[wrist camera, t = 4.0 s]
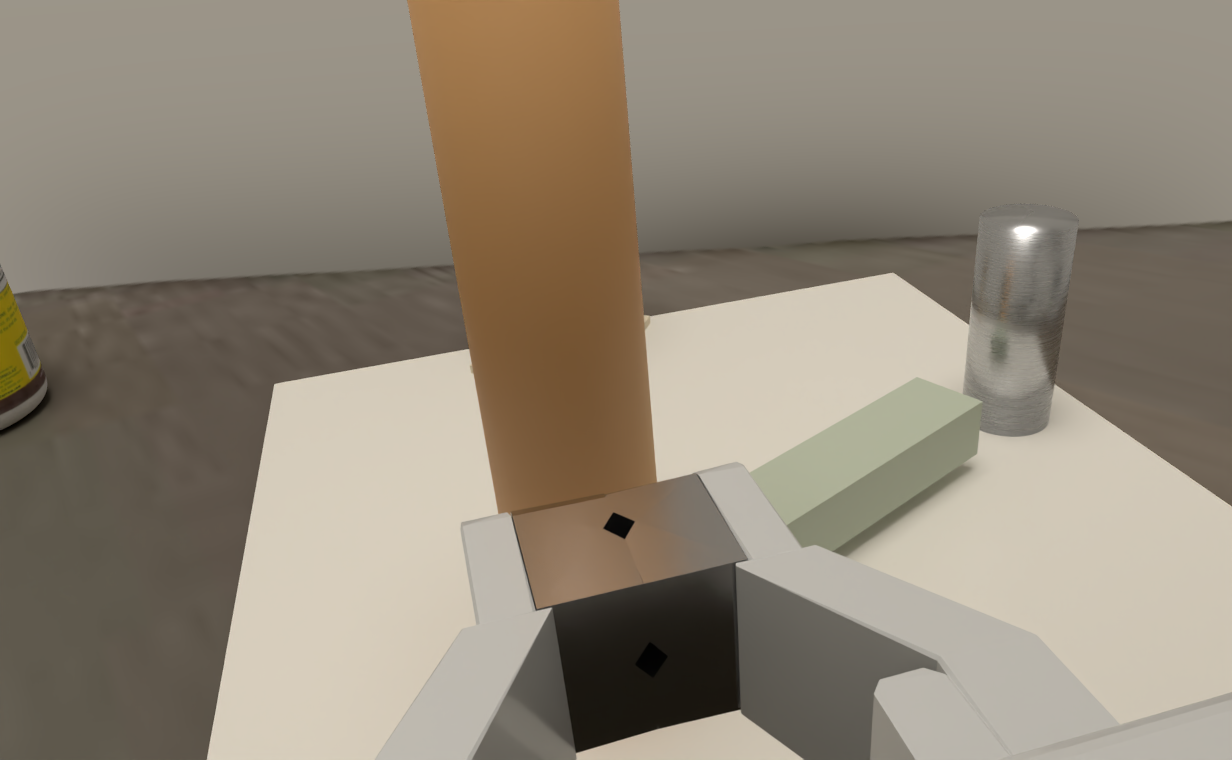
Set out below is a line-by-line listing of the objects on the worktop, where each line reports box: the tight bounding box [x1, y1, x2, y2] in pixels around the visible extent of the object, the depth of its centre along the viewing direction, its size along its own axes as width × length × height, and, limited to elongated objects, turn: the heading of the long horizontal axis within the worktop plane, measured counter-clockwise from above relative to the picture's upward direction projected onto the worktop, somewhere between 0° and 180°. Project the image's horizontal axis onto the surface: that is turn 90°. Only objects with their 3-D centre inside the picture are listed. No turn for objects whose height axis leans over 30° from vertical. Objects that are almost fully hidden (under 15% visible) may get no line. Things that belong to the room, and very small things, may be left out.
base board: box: [207, 273, 1232, 760], centre depth 26 cm, size 24×22×1 cm
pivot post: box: [963, 204, 1079, 437], centre depth 26 cm, size 2×2×6 cm
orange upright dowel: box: [407, 0, 983, 552], centre depth 18 cm, size 14×3×19 cm, turn 129°
